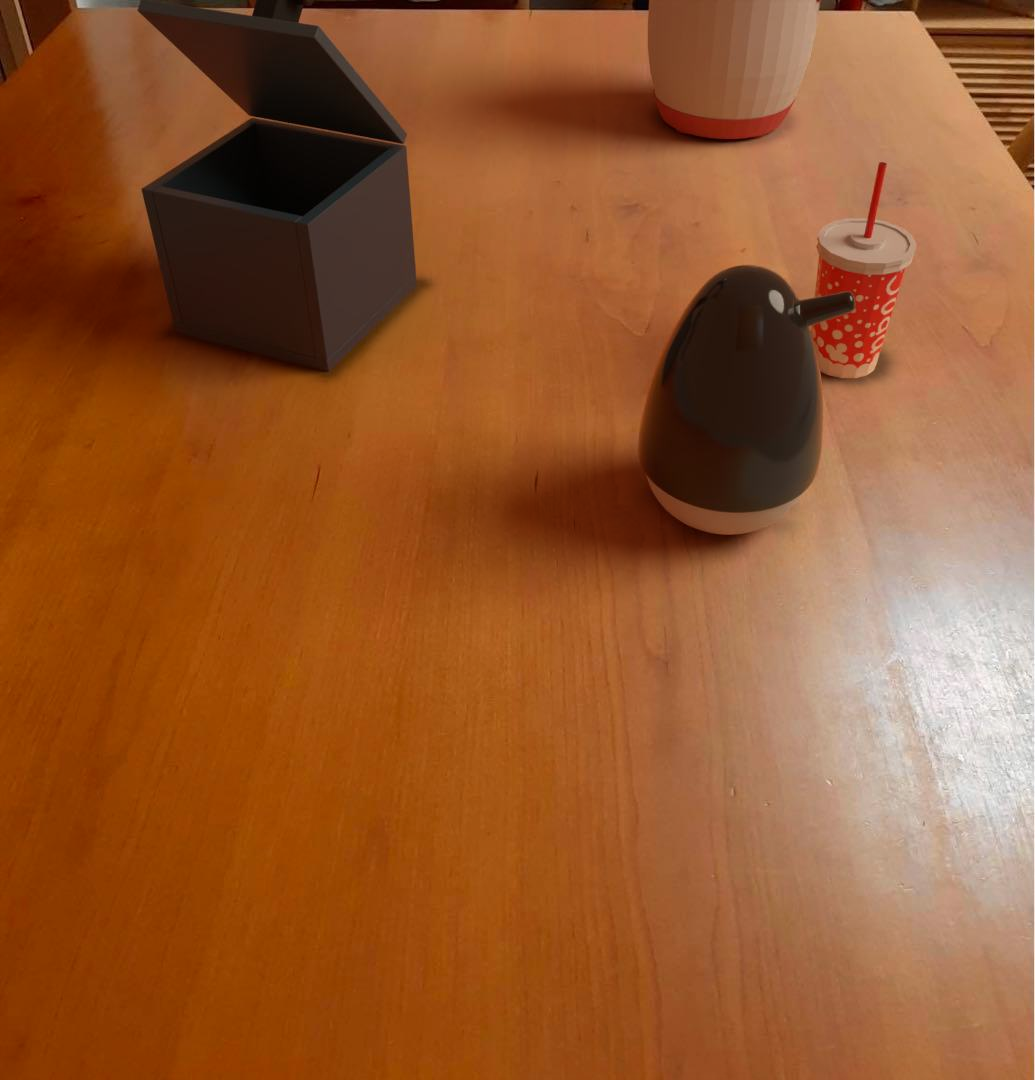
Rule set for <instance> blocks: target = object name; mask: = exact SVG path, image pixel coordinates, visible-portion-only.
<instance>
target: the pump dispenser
mask: <svg viewBox="0 0 1035 1080" xmlns="http://www.w3.org/2000/svg"><path fill="white" fill-rule="evenodd" d="M814 297H815V296H814ZM814 297H810V298H809V297H808V298H805V299H799V298H798V296H797V294H796V293H795V290H794V289H793V288H792V286H791V285H790V284H789V282H788V281H787V280H786V279H785V277H783V276H782V275H781V274H779V273H778V272H776V271H774V270H772V269H770V268H768V267H764V266H761V265H758V264H757V265H756V264H740V265H735V266H734V265H733V266H730V267H728V268H725V269H722V270H721V271H719V272H717V273H716V274H714V275H713V276H711V277H710V278H709V279H708V280H707V281H706V282H705V283H704V284H703V285H702V286H701V287H700V288H699V289H698V291H697V292H696V293H695V294H694V296H692V298H691V300H690V301H689V303H688V304H687V306H686V307H685V308H684V310H683V312H682V313H681V315H680V317H679V319H678V320H677V321H676V323H675V325H674V326H673V327H674V328H673V329H672V331H671V333H670V335H669V336H668V339H667V340H666V342H665V345H664V346H663V349H662V351H661V353H660V355H659V359H658V361H657V363H656V366H655V368H654V371H653V374H652V376H651V379H650V382H649V386H648V389H647V394H646V398H645V402H644V406H643V410H642V413H641V417H640V418H641V419H640V425H639V428H638V435H637V436H638V437H637V438H638V439H637V456H638V462H639V464H640V466H641V469H642V471H643V472H644V474H645V477H646V481H647V482H648V484H649V488H650V490H651V491H652V493H653V495H654V497H655V498H656V500H657V501H658V502H659V504H660V505H661V506H662V507H663V509H664V510H665V511H667V512H668V513H669V515H671V516H672V517H674V518H675V519H677V520H678V521H680V522H681V523H683V524H685V525H687V526H688V527H691V528H693V529H696V530H698V531H701V532H705V533H710V534H715V535H727V536H728V535H729V536H730V535H732V536H733V535H742V534H748V533H752V532H755V531H759V530H762V529H765V528H766V527H768V526H770V525H773V524H774V523H776V522H777V521H779V520H780V519H781V518H783V517H784V516H786V514H788V512H790V511H791V510H792V508H793V507H794V506H795V505H796V504H797V503H798V501H799V500H800V498H801V497H802V496H803V494H804V493H805V492H806V491H807V490H808V489H809V488H810V486H811V485H812V484H813V482H814V480H815V479H816V477H817V474H818V472H819V471H818V470H819V467H820V463H821V462H820V461H821V458H822V451H823V450H822V448H823V436H824V435H823V433H824V391H823V382H822V374H821V373H822V372H821V371H820V367H819V361H818V356H817V351H816V347H815V343H814V339H813V336H812V333H811V326H812V325H815V324H817V323H820V322H823V321H826V320H829V319H832V318H835V317H838V316H841V315H844V314H847V313H850V312H852V311H853V310H854V309H855V298H854V295H853V294H852V293H851V292H849V291H846V292H841V293H836V294H830V295H825V296H820V297H815V298H814Z"/></svg>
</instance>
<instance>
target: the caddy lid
mask: <svg viewBox="0 0 1035 1080" xmlns="http://www.w3.org/2000/svg"><path fill="white" fill-rule="evenodd" d="M137 12H138V13H139V14H140V15H141V16H142V17H143V18H144V19H145V20H146V21H148V23H150V24H151V25H152V26H153V27H154V28H155V29H156V30H157V31H158V32H159V33H160V34H161V35H162V36H164V38H166V39H167V40H168V41H169V42H170V43H171V44H172V45H173V46H174V47H175V48H176V49H177V50H178V51H180V52H181V53H182V54H183V56H185V57H186V58H187V59H188V60H189V61H190V62H191V63H192V64H194V66H196V68H198V69H199V70H200V71H201V72H202V73H203V74H204V75H205V76H206V77H207V78H208V79H209V80H210V81H211V82H212V83H214V84H215V86H217V87H218V88H219V89H220V90H221V91H223V93H224V94H225V95H226V96H227V97H229V99H230V100H232V101H233V102H234V103H235V104H236V105H237V106H238V107H239V108H240V109H241V110H242V111H243V112H244V113H245V114H246V115H248V116H249V117H252V118H258V119H263V120H268V121H274V122H279V123H285V124H290V125H296V126H301V127H307V128H312V129H317V130H323V131H328V132H334V133H339V134H345V135H350V136H356V137H361V138H367V139H372V140H377V141H383V142H388V143H394V144H399V145H404V144H405V143H406V139H407V136H408V133H407V131H406V130H405V129H404V128H403V127H402V126H401V124H399V122H398V121H397V120H396V119H395V117H394V116H393V114H392V113H391V112H390V111H389V110H388V108H387V107H386V106H385V105H384V104H383V103H382V101H381V100H380V99H379V98H378V96H377V95H376V94H375V93H374V92H373V90H372V89H371V88H370V87H369V85H368V84H367V83H366V82H365V80H364V79H363V78H362V77H361V76H360V74H359V73H358V72H357V70H356V69H354V67H353V66H352V65H351V64H350V62H349V61H348V60H347V58H345V56H344V55H343V54H342V52H340V50H339V48H337V46H336V45H335V44H334V42H332V40H331V39H330V38H329V37H328V35H327V34H326V33H325V32H324V30H323V29H322V28H321V27H320V26H319V25H315V24H308V23H301V22H299V23H296V22H289V21H283V20H276V19H269V18H263V17H256V16H252V15H249V14H242V13H236V12H231V11H230V12H229V11H222V10H216V9H209V8H204V7H198V6H197V7H196V6H188V5H183V4H182V5H181V4H177V3H170V2H163V1H156V0H140V1H139V4H138V7H137Z"/></svg>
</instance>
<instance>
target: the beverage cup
mask: <svg viewBox="0 0 1035 1080" xmlns="http://www.w3.org/2000/svg"><path fill="white" fill-rule="evenodd" d="M887 166H888V164H887V162H884V161H879V162H878V165H877V169H876V176H875V180H874V186H873V190H872V194H871V199H870V204H869V208H868V209H869V210H868V214H867V217H847V218H842V219H837V220H833V221H831V222H829V223H827V224H825V225H824V226H822V227H821V228H820V230H819V232H818V234H817V238H816V240H817V244H816V246H815V247H816V250H817V253H818V262H817V272H816V279H815V288H814V297H813V298H815V297H820V296H825V295H830V294H836V293H841V292H846V291H849V292H851V293H852V294H853V295H854V298H855V309H854V310H853V311H852V312H850V313H847V314H844V315H841V316H838V317H835V318H832V319H829V320H826V321H823V322H820V323H817V324H815V325H812V326H810V330H811V333H812V336H813V339H814V343H815V347H816V351H817V356H818V361H819V367H820V373H823V374H825V375H827V376H829V377H830V376H831V377H834V378H839V379H857V378H863V377H866V376H868V375H869V374H871V373H872V372H874V371H875V369H876V366H877V363H878V360H879V357H880V354H881V351H882V348H883V344H884V341H885V338H886V334H887V331H888V328H889V325H890V322H891V318H892V316H893V312H894V308H895V306H896V302H897V299H898V295H899V292H900V289H901V285H902V282H903V279H904V276H905V273H906V269H907V267H909V266H911V264H912V261H913V259H914V255H915V252H916V250H917V246H918V244H917V241H916V240H915V237H914V235H913V234H911V233H910V232H908V231H907V230H906V229H904V228H903V227H902V226H899V225H896V224H894V223H891V222H889V221H886V220H880V219H876V217H877V213H878V208H879V205H880V198H881V194H882V189H883V185H884V179H885V175H886V169H887Z"/></svg>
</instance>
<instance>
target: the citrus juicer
mask: <svg viewBox="0 0 1035 1080" xmlns="http://www.w3.org/2000/svg"><path fill="white" fill-rule="evenodd" d="M821 1H822V0H648V13H647V54H648V62H649V63H648V65H649V72H650V76H651V82H652V88H653V96H654V100H655V104H656V105H657V108H658V111H659V114H660V117H661V118H662V120H663V122H665V123H666V124H667V125H669V126H670V127H672V128H673V129H675V130H676V131H677V132H678V133H680V134H684V135H692V136H696V137H701V138H709V139H719V140H734V139H735V140H738V139H747V138H761V137H764V136H765V135H766V134H769V133H770V132H772V131H773V132H774V130H776V129H777V128H779V127H780V126H781V125H782V124H783V122H784V120H785V119H786V117H787V115H788V114H789V113H790V110H791V109H792V107H793V105H794V103H795V102H796V98H797V97H796V96H797V94H798V91H799V89H800V87H801V86H802V83H803V81H804V78H805V74H806V72H807V69H808V66H809V62H810V60H811V55H812V51H813V45H814V41H815V36H816V31H817V27H818V20H819V19H818V18H819V15H820V8H821V7H820V6H821Z"/></svg>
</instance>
